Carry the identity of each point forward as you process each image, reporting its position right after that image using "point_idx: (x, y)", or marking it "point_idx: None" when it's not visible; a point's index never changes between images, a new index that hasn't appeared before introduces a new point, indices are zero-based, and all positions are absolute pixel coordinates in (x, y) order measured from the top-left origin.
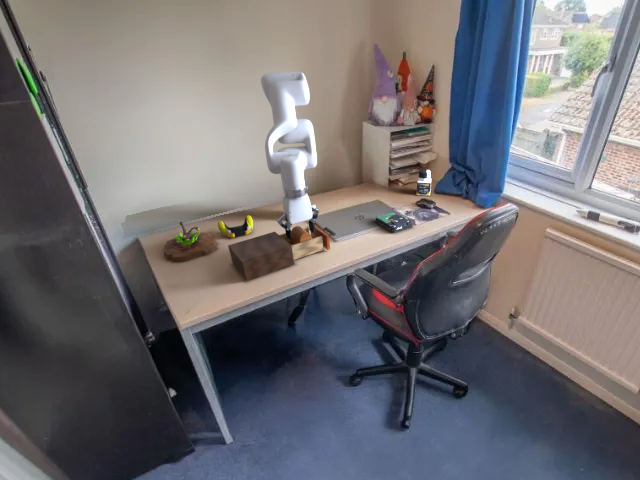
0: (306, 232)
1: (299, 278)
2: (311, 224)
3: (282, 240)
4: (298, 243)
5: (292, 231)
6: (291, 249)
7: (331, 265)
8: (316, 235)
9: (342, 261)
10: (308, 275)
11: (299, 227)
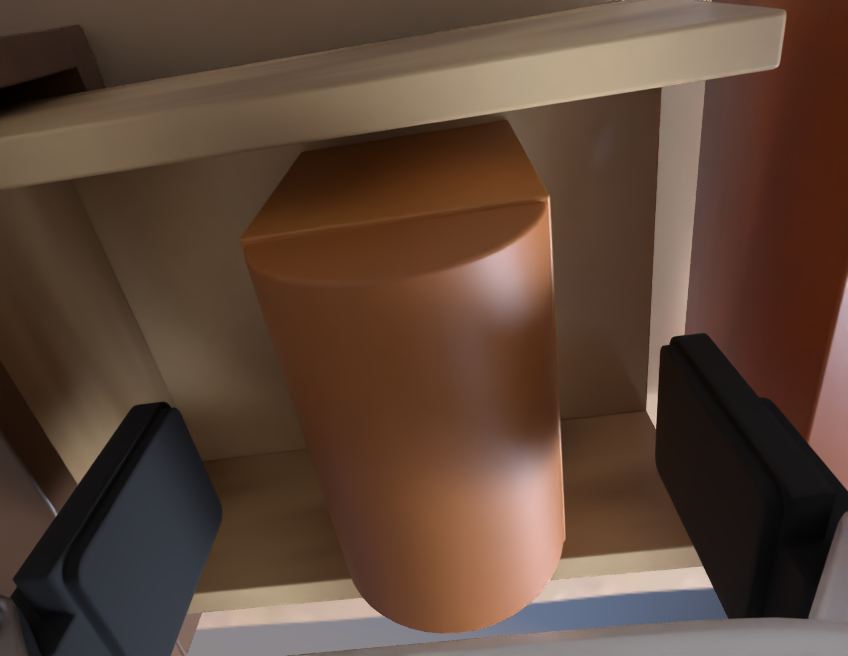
0: (496, 609)
1: (257, 622)
2: (731, 596)
3: (29, 544)
4: (303, 587)
5: (265, 319)
6: (185, 634)
7: (559, 585)
8: (753, 216)
9: (675, 575)
10: (333, 618)
11: (452, 376)
